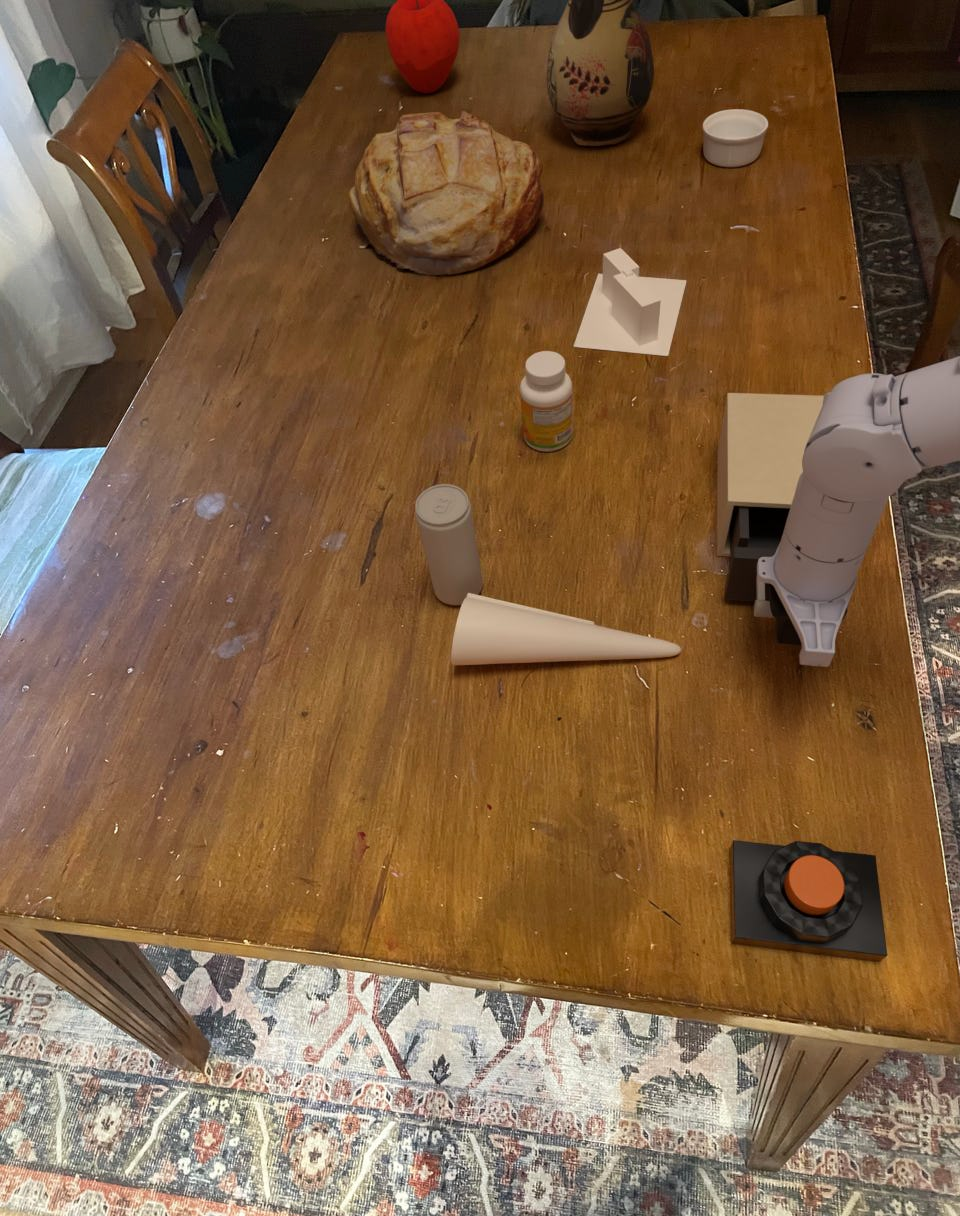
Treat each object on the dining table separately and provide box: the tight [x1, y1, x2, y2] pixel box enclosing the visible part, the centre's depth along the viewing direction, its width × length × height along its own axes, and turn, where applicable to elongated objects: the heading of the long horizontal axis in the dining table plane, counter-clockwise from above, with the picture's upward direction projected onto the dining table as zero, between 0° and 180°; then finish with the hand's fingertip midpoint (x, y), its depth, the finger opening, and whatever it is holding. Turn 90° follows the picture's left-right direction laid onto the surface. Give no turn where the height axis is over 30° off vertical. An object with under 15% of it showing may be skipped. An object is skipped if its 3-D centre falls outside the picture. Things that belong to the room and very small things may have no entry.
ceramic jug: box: [546, 0, 655, 147], centre depth 117 cm, size 17×15×30 cm
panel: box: [729, 839, 888, 963], centre depth 60 cm, size 10×7×4 cm
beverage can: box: [414, 483, 484, 606], centre depth 76 cm, size 5×5×12 cm
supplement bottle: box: [519, 350, 574, 453], centre depth 88 cm, size 5×5×10 cm
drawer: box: [723, 506, 790, 619], centre depth 76 cm, size 18×10×6 cm, turn 171°
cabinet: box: [716, 392, 825, 558], centre depth 80 cm, size 14×11×8 cm
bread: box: [348, 108, 545, 276], centre depth 113 cm, size 25×27×15 cm
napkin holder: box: [573, 247, 687, 357], centre depth 101 cm, size 15×11×6 cm
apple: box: [384, 0, 461, 94], centre depth 139 cm, size 12×12×13 cm
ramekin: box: [702, 108, 769, 168], centre depth 120 cm, size 9×9×4 cm
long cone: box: [450, 593, 682, 666], centre depth 74 cm, size 6×6×19 cm
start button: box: [784, 855, 844, 915], centre depth 58 cm, size 4×4×2 cm
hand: (789, 638), depth 71 cm, fingers closed
